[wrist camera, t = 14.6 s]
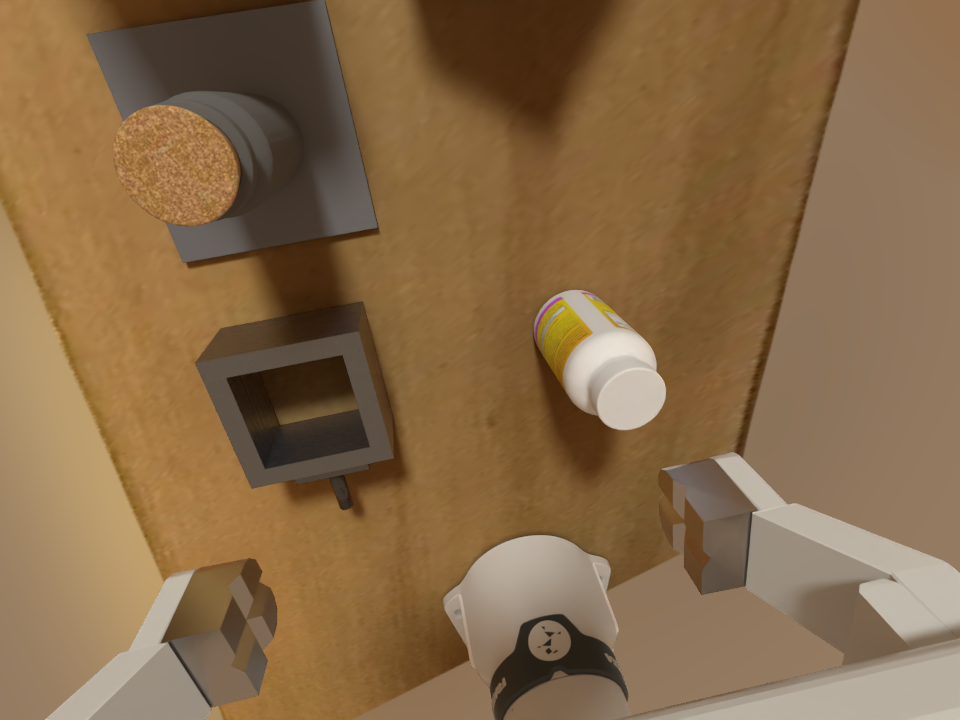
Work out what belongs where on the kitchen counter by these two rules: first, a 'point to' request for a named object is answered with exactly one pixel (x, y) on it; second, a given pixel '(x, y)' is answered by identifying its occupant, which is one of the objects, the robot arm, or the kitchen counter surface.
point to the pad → (262, 71)
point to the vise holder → (307, 443)
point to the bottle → (207, 155)
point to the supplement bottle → (599, 360)
